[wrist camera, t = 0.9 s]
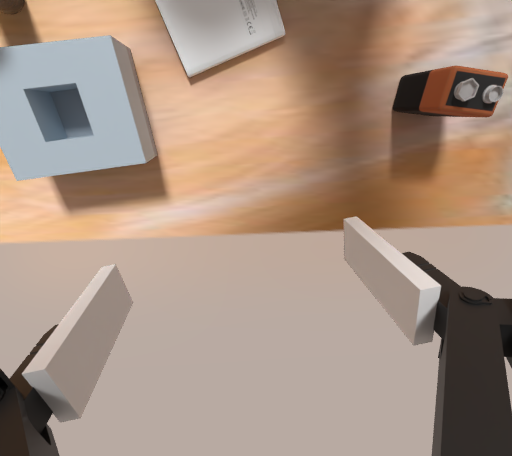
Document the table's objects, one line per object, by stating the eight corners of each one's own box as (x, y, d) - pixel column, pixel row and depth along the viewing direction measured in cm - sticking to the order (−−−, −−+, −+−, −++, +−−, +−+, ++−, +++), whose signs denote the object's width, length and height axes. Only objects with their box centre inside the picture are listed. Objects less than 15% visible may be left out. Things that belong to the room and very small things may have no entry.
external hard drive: (155, -1, 30) (259, -48, 29) (189, 78, 33) (283, 37, 33) (152, -7, 28) (261, -57, 28) (187, 76, 32) (286, 33, 31)
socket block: (2, 62, 30) (-46, 52, 25) (129, 48, 31) (110, 35, 25) (48, 169, 35) (16, 180, 29) (157, 155, 36) (146, 163, 30)
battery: (400, 75, 35) (461, 62, 26) (446, 81, 36) (520, 72, 27) (390, 111, 37) (445, 111, 28) (434, 116, 38) (501, 118, 29)
